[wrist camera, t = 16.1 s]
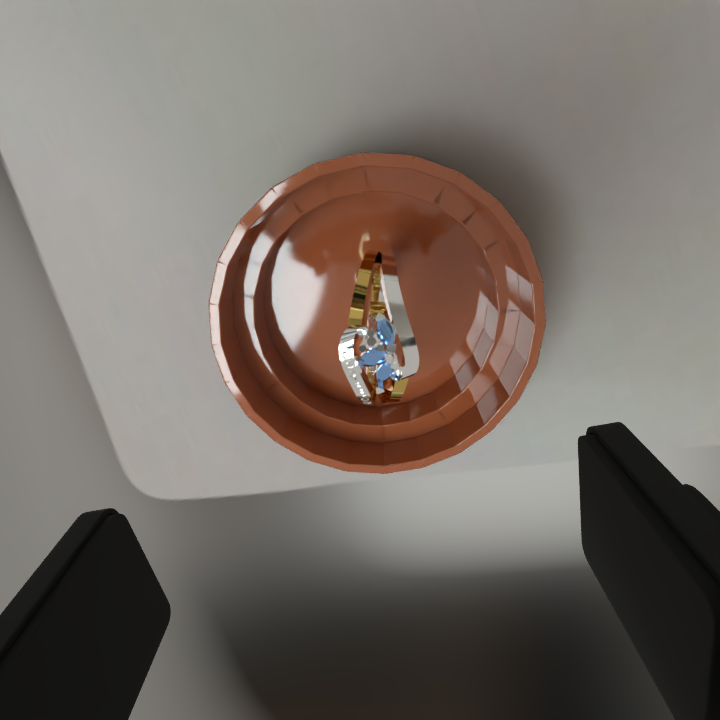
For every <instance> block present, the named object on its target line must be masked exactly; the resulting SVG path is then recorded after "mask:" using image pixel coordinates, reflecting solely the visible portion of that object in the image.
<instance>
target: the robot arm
mask: <svg viewBox="0 0 720 720" xmlns="http://www.w3.org/2000/svg"><path fill="white" fill-rule="evenodd" d="M578 458H579V484H580V510H581V532H582V533H581V535H582V546H583V550H584V554H585V556H586V559H587V561H588V563H589V565H590V567H591V568H592V570H593V572H594V574H595V576H596V578H597V579H598V581H599V583H600V584H601V587H602V588H603V590H604V592H605V593H606V595H607V597H608V599H609V601H610V603H611V605H612V606H613V608H614V610H615V612H616V614H617V616H618V617H619V619H620V621H621V623H622V625H623V626H624V628H625V630H626V632H627V634H628V635H629V637H630V639H631V641H632V643H633V644H634V646H635V648H636V650H637V652H638V654H639V655H640V657H641V659H642V661H643V663H644V664H645V666H646V668H647V670H648V672H649V673H650V675H651V677H652V679H653V681H654V682H655V684H656V686H657V688H658V690H659V691H660V693H661V695H662V697H663V699H664V700H665V702H666V704H667V706H668V708H669V709H670V711H671V713H672V715H673V717H674V719H675V720H720V511H719V510H717V508H716V507H715V506H713V504H712V503H711V502H710V501H708V499H707V498H706V497H705V496H704V495H703V494H701V493H700V492H699V491H698V490H697V489H696V488H694V487H693V486H690V485H688V484H684V485H682V484H681V483H680V482H679V481H678V480H677V479H676V478H675V477H674V476H673V475H672V474H671V473H670V472H669V470H668V469H667V468H666V467H664V465H663V464H662V463H661V462H660V461H659V460H658V459H657V458H656V457H655V456H654V455H653V454H652V453H651V452H650V451H649V450H648V449H647V448H646V447H645V446H644V445H643V444H642V443H641V442H640V441H639V440H638V439H637V438H636V437H635V435H634V434H633V433H632V432H631V431H630V430H629V429H628V428H627V427H626V426H625V425H624V424H622V423H621V422H615V423H610V424H604V425H598V426H592V427H589V428H588V429H587V432H586V435H585V436H580V437H579V439H578ZM170 614H171V613H170V604H169V602H168V600H167V598H166V596H165V594H164V592H163V590H162V588H161V586H160V584H159V582H158V580H157V578H156V576H155V574H154V572H153V570H152V568H151V566H150V564H149V562H148V560H147V558H146V556H145V554H144V552H143V550H142V549H141V546H140V544H139V542H138V540H137V538H136V536H135V534H134V532H133V530H132V528H131V526H130V524H129V522H128V520H127V518H126V517H125V516H124V515H123V514H119V513H118V512H117V511H116V510H115V509H112V508H108V509H102V510H96V511H91V512H86V513H83V514H81V515H80V516H79V517H78V518H77V520H76V521H75V522H74V523H73V524H72V526H71V527H70V528H69V530H68V531H67V532H66V533H65V534H64V536H63V537H62V538H61V540H60V541H59V542H58V543H57V545H56V546H55V547H54V548H53V550H52V551H51V552H50V553H49V555H48V556H47V557H46V558H45V559H44V561H43V562H42V563H41V565H40V566H39V567H38V568H37V570H36V571H35V572H34V573H33V575H32V576H31V577H30V578H29V580H28V581H27V582H26V583H25V585H24V586H23V587H22V588H21V590H20V591H19V592H18V593H17V595H16V596H15V597H14V598H13V600H12V601H11V602H10V603H9V605H8V606H7V607H6V608H5V610H4V611H3V612H2V613H1V615H0V720H128V718H129V716H130V714H131V711H132V709H133V707H134V704H135V702H136V699H137V697H138V695H139V692H140V690H141V687H142V685H143V683H144V681H145V678H146V676H147V673H148V671H149V669H150V666H151V664H152V661H153V659H154V656H155V654H156V652H157V650H158V647H159V645H160V642H161V640H162V638H163V635H164V633H165V631H166V628H167V626H168V623H169V620H170Z"/></svg>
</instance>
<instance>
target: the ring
mask: <svg viewBox="0 0 720 720" xmlns="http://www.w3.org/2000/svg"><path fill="white" fill-rule="evenodd" d="M371 283H372V295H371V298H370V306H369V327H368V326H367V312H368V301H369V294H370V288H371ZM386 308H387V312H388V315H389V318H390V321H389V320H388V319H386V318H385V317H386V316H385V315H386ZM395 336H396V339H397V342H398V345H399V348H400V352H401V358H402V362H401V364H399V363H398V359H397V354H396V346H397V344H396V341H395ZM359 337H363V341H362V342H361V344H360V347H359V350H360V352H362V353H361V354H358V353H357V348H356V343H357V340H358V338H359ZM384 343H385V344H387V345H384ZM339 356H340V361H341V365H342V368H343V370H344V372H345V375H346V377H347V379H348V381H349V383H350V385H351V387H352V389H353V391H354V392H355V394H356V396H357V398H358V400H359V401H360V403H362V404H375V403H376V394H378V397H379V400H380V401H381V402H382V403H387V404H396V403H397V402H399V400H400V399H401V397H402V395H403V393H404V391H405V388H406V385H407V382H408V378H409V377H412V376H413V375H415V373H416V372H417V370H418V367H419V353H418V348H417V344H416V341H415V338H414V334H413V331H412V328H411V325H410V322H409V319H408V316H407V313H406V309H405V306H404V302H403V298H402V294H401V290H400V286H399V281H398V276H397V271H396V265H395V258H394V253H393V252H391V251H383V250H382V251H380V250H368V251H367V252H366V254H365V256H364V258H363V261H362V263H361V266H360V269H359V273H358V276H357V280H356V284H355V289H354V293H353V298H352V303H351V309H350V315H349V321H348V328H347V329H346V330H345V331H344V332H343V334H342V336H341V339H340V343H339ZM363 366H366V373H365V371H364V369H363ZM388 379H389V380H388ZM387 380H388V381H387Z"/></svg>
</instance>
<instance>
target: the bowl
mask: <svg viewBox="0 0 720 720" xmlns="http://www.w3.org/2000/svg"><path fill="white" fill-rule="evenodd" d="M368 250H380V251H382V250H383V251H391V252H393V253H394V258H395V265H396V271H397V276H398V281H399V286H400V290H401V294H402V298H403V302H404V306H405V309H406V313H407V316H408V319H409V322H410V325H411V328H412V331H413V334H414V338H415V341H416V344H417V348H418V353H419V367H418V370H417V372H416V373H415V375H413V376H412V377H409V378H408V382H407V385H406V388H405V391H404V393H403V395H402V397H401V399H400V400H399V402H397V403H396V404H387V403H382V402H381V401H380V400H379V397H378V394H376V403H375V404H362V403H360V401H359V400H358V398H357V396H356V394H355V392H354V391H353V389H352V387H351V385H350V383H349V381H348V379H347V377H346V375H345V372H344V370H343V368H342V365H341V361H340V356H339V343H340V339H341V336H342V334H343V332H344V331H345V330H346V329H347V328H348V321H349V315H350V309H351V303H352V298H353V293H354V289H355V284H356V280H357V276H358V273H359V269H360V266H361V263H362V261H363V258H364V256H365V254H366V252H367V251H368ZM371 295H372V283H371V288H370V294H369V301H368V312H367V326H368V327H369V306H370V298H371ZM209 316H210V331H211V344H212V348H213V350H214V353H215V356H216V359H217V362H218V365H219V368H220V371H221V374H222V376H223V379H224V382H225V384H226V386H227V387H228V389H229V390H230V392H231V393H232V394H233V396H234V397H235V399H236V400H237V402H238V403H239V405H240V406H241V408H242V409H243V411H244V412H245V414H246V415H247V416H248V417H249V418H250V419H251V420H252V421H253V422H254V423H255V424H256V425H257V426H259V427H260V428H261V429H262V430H263V431H264V432H265V433H266V434H267V435H268V436H270V437H271V438H272V439H273V440H274V441H276V442H277V443H278V444H280V445H282V446H284V447H285V448H287V449H289V450H291V451H293V452H294V453H296V454H298V455H300V456H302V457H304V458H305V459H307V460H310V461H312V462H316V463H319V464H322V465H326V466H329V467H333V468H336V469H340V470H343V471H348V472H364V473H381V474H384V473H386V474H387V473H393V472H399V471H405V470H412V469H418V468H423V467H426V466H429V465H431V464H434V463H436V462H439V461H441V460H444V459H446V458H449V457H451V456H454V455H456V454H459V453H461V452H462V451H463V450H465V449H466V448H468V447H469V446H471V445H472V444H473V443H475V442H476V441H478V440H479V439H481V438H482V437H484V436H485V435H486V434H488V433H489V432H491V430H493V429H494V428H495V427H496V425H497V424H498V423H499V422H500V421H501V420H502V419H503V418H504V416H505V415H506V414H507V413H508V412H509V411H510V410H511V409H512V407H513V406H514V405H515V404H516V403H517V402H518V400H519V399H520V397H521V395H522V393H523V391H524V389H525V387H526V385H527V383H528V381H529V379H530V377H531V375H532V373H533V371H534V369H535V367H536V365H537V362H538V358H539V353H540V348H541V344H542V339H543V334H544V330H545V325H546V324H545V323H546V319H545V303H544V288H543V281H542V276H541V274H540V271H539V268H538V265H537V263H536V260H535V257H534V255H533V252H532V249H531V246H530V244H529V241H528V239H527V237H526V235H525V234H524V233H523V231H522V230H521V229H520V227H519V226H518V225H517V223H516V222H515V221H514V219H513V218H512V217H511V215H510V214H509V213H508V211H507V210H506V209H505V207H504V206H503V205H502V203H501V202H499V200H498V199H496V198H495V197H494V196H492V195H491V194H490V193H488V192H487V191H486V190H484V189H483V188H481V187H480V186H479V185H477V184H476V183H475V182H473V181H472V180H471V179H469V178H468V177H467V176H465V175H464V174H463V173H460V172H459V171H456V170H453V169H451V168H448V167H445V166H442V165H440V164H437V163H434V162H431V161H429V160H426V159H423V158H420V157H417V156H413V155H402V154H386V153H369V152H364V153H358V154H353V155H349V156H345V157H340V158H336V159H331V160H327V161H323V162H318V163H316V164H313V165H311V166H309V167H307V168H305V169H304V170H302V171H300V172H298V173H296V174H295V175H293V176H291V177H289V178H287V179H286V180H284V181H282V182H280V183H279V184H277V185H275V186H273V188H271V189H270V190H269V191H268V192H267V193H266V194H265V195H264V196H263V197H262V198H261V199H260V200H259V201H258V202H257V203H256V204H255V205H254V206H253V207H252V208H251V209H250V210H249V211H248V212H247V213H246V214H245V215H244V216H243V217H242V218H241V219H240V221H239V222H238V223H237V225H236V227H235V229H234V231H233V233H232V235H231V236H230V238H229V240H228V242H227V244H226V246H225V248H224V250H223V251H222V253H221V255H220V257H219V259H218V262H217V266H216V271H215V275H214V280H213V285H212V289H211V294H210V299H209ZM385 316H386V317H385V318H386V319H388V320H389V321H390V318H389V315H388V312H387V308H386V315H385ZM362 341H363V337H359V338H358V340H357V343H356V348H357V353H358V354H361V353H362V352H360V350H359V347H360V344H361V342H362ZM395 341H396V344H397V346H396V354H397V359H398V363H399V364H401V362H402V358H401V352H400V348H399V345H398V342H397V339H396V336H395ZM384 345H387V344H385V343H384ZM363 369H364V371H365V373H366V366H363ZM388 380H389V379H388ZM388 380H387V381H388Z"/></svg>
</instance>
